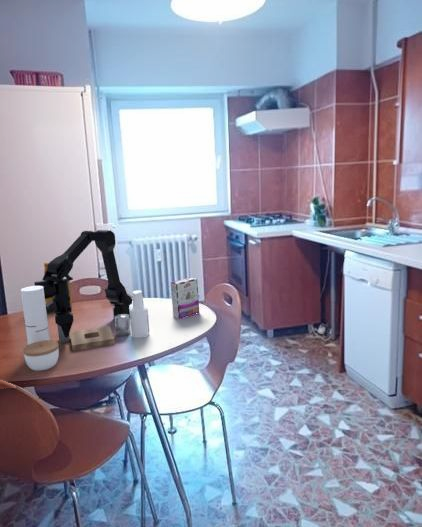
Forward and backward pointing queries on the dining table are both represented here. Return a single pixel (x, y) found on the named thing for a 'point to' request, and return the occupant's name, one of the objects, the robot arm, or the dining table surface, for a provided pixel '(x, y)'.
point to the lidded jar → (41, 354)
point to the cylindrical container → (35, 314)
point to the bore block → (92, 338)
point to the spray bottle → (139, 316)
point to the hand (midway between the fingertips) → (66, 333)
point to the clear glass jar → (122, 325)
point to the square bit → (62, 335)
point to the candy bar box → (185, 297)
